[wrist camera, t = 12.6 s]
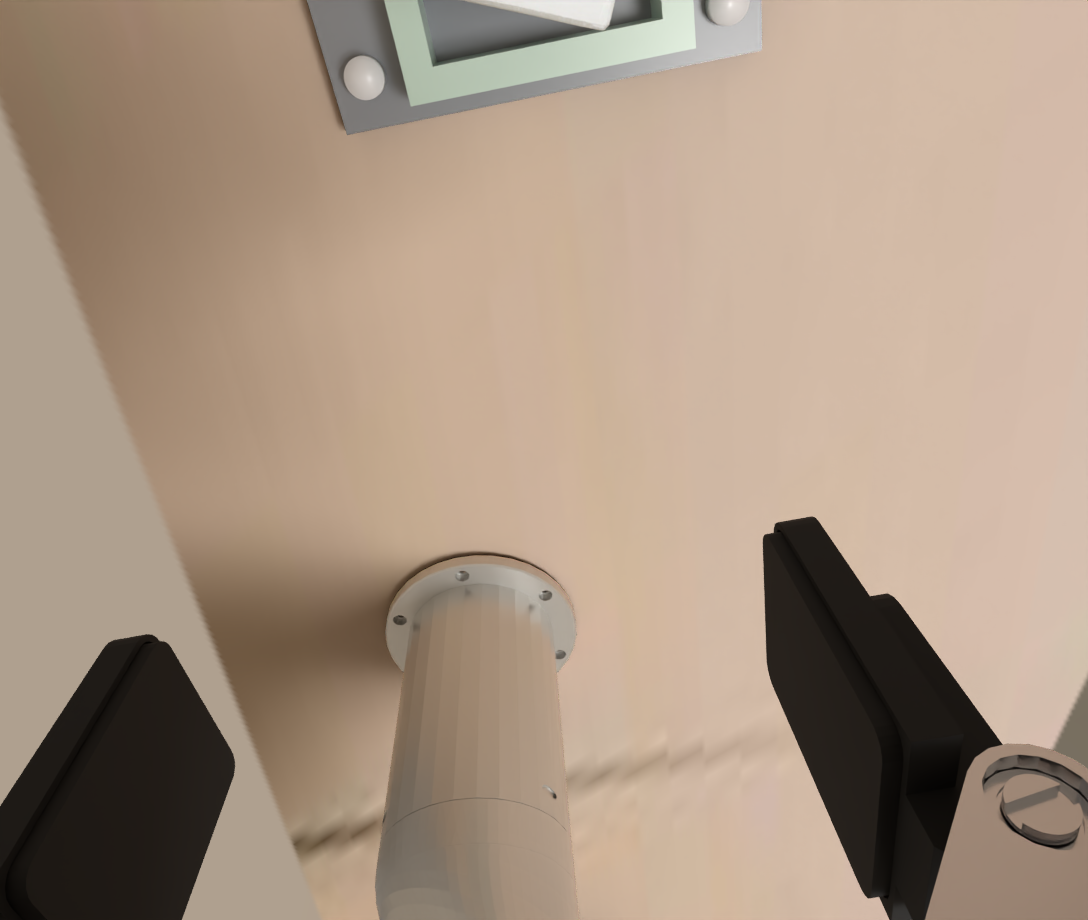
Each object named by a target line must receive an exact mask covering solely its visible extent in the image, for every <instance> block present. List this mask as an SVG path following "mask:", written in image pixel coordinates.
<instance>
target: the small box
mask: <svg viewBox="0 0 1088 920" xmlns="http://www.w3.org/2000/svg"><path fill="white" fill-rule="evenodd" d="M463 1H467V2H472V3H476V4H481V5H485V6H490V7H495V8H499V9H504V10H508V11H513V12H518V13H522V14H527V15H532V16H536V17H540V18H545V19H549V20H554V21H558V22H562V23H567V24H571V25H576V26H581V27H586V28H590V29H595V30H605V29H606V28H607V27H608V26H609V23H610V20H611V17H612V12H613V8H614V3H615V0H463Z"/></svg>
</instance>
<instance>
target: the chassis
mask: <svg viewBox="0 0 1088 920" xmlns="http://www.w3.org/2000/svg"><path fill="white" fill-rule="evenodd" d="M307 3H308V6H309V9H310V13H311V16H312V19H313V23H314V26H315V29H316V33H317V36H318V39H319V43H320V46H321V49H322V53H323V56H324V59H325V63H326V66H327V69H328V73H329V76H330V80H331V83H332V86H333V90H334V93H335V96H336V100H337V103H338V106H339V110H340V113H341V116H342V120H343V123H344V126H345V130H346V133H347V135H349V134H354V133H359V132H364V131H369V130H374V129H379V128H384V127H389V126H394V125H399V124H404V123H408V122H413V121H418V120H423V119H428V118H433V117H438V116H443V115H448V114H453V113H458V112H463V111H467V110H472V109H477V108H482V107H487V106H492V105H497V104H502V103H507V102H512V101H517V100H522V99H526V98H531V97H536V96H541V95H546V94H551V93H556V92H561V91H566V90H571V89H576V88H581V87H585V86H590V85H595V84H600V83H605V82H610V81H615V80H620V79H625V78H630V77H635V76H640V75H644V74H649V73H654V72H659V71H664V70H669V69H674V68H679V67H684V66H689V65H694V64H699V63H703V62H708V61H713V60H718V59H723V58H728V57H733V56H738V55H743V54H748V53H753V52H758V51H762V10H761V0H615V3H614V8H613V12H612V17H611V20H610V23H609V26H608V27H607V28H606V29H605V30H595V29H590V28H586V27H581V26H576V25H571V24H567V23H562V22H558V21H554V20H549V19H545V18H540V17H536V16H532V15H527V14H522V13H518V12H513V11H508V10H504V9H499V8H495V7H490V6H485V5H481V4H476V3H472V2H467V1H463V0H307Z"/></svg>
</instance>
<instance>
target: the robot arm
mask: <svg viewBox="0 0 1088 920" xmlns="http://www.w3.org/2000/svg"><path fill="white" fill-rule="evenodd" d="M763 561H764V591H765V622H766V652H767V666H768V671H769V676H770V679H771V682H772V685H773V687H774V690H775V692H776V694H777V697H778V699H779V701H780V703H781V706H782V708H783V710H784V713H785V715H786V717H787V720H788V722H789V724H790V726H791V729H792V731H793V733H794V736H795V738H796V740H797V743H798V745H799V747H800V749H801V752H802V754H803V756H804V759H805V761H806V763H807V766H808V768H809V770H810V772H811V775H812V777H813V779H814V782H815V784H816V786H817V789H818V791H819V793H820V795H821V798H822V800H823V802H824V805H825V807H826V809H827V812H828V814H829V816H830V818H831V821H832V823H833V825H834V828H835V830H836V832H837V835H838V837H839V839H840V841H841V844H842V846H843V848H844V851H845V853H846V855H847V858H848V860H849V862H850V864H851V867H852V869H853V871H854V874H855V876H856V878H857V881H858V883H859V885H860V887H861V889H862V891H863V893H864V894H865V896H866V897H867V898H874V897H880V900H881V902H882V904H883V906H884V908H885V911H886V913H887V915H888V917H889V919H890V920H1088V769H1087V768H1086V767H1084V766H1083V765H1082V764H1080V763H1079V762H1077V761H1075V760H1074V759H1072V758H1069V757H1067V756H1065V755H1062V754H1060V753H1058V752H1056V751H1054V750H1051V749H1047V748H1043V747H1038V746H1034V745H1030V744H1004V745H1003V744H1002V743H1001V742H1000V740H999V739H998V738H997V736H996V735H995V733H994V732H993V731H992V729H991V728H990V727H989V725H988V724H987V723H986V721H985V720H984V718H983V717H982V716H981V714H980V713H979V712H978V710H977V709H976V707H975V706H974V705H973V703H972V702H971V701H970V699H969V698H968V696H967V695H966V694H965V692H964V691H963V690H962V688H961V687H960V685H959V684H958V683H957V681H956V680H955V679H954V677H953V676H952V674H951V673H950V672H949V670H948V669H947V668H946V666H945V665H944V663H943V662H942V661H941V659H940V658H939V657H938V655H937V654H936V653H935V651H934V650H933V648H932V647H931V646H930V644H929V643H928V642H927V640H926V639H925V637H924V636H923V635H922V633H921V632H920V631H919V629H918V628H917V626H916V625H915V624H914V622H913V621H912V620H911V618H910V617H909V615H908V614H907V613H906V611H905V610H904V609H903V607H902V606H901V604H900V603H899V602H898V601H897V600H896V599H895V598H894V597H893V596H891V595H889V594H881V595H876V596H869V594H868V593H867V591H866V590H865V588H864V587H863V586H862V584H861V583H860V581H859V580H858V578H857V577H856V575H855V574H854V572H853V571H852V569H851V568H850V567H849V565H848V564H847V562H846V561H845V559H844V558H843V556H842V555H841V553H840V552H839V550H838V549H837V547H836V546H835V545H834V543H833V542H832V540H831V539H830V537H829V536H828V534H827V533H826V531H825V530H824V528H823V527H822V526H821V524H820V523H819V521H818V520H817V519H816V518H815V517H806V518H801V519H795V520H789V521H784V522H778V523H776V524H775V527H774V533H771V534H766V535H764V537H763ZM385 635H386V643H387V647H388V650H389V652H390V654H391V657H392V659H393V660H394V662H395V663H396V664H397V666H398V667H399V669H400V670H401V671H402V672H403V673H404V674H403V682H402V689H401V696H400V703H399V710H398V717H397V724H396V732H395V739H394V746H393V753H392V760H391V767H390V774H389V782H388V789H387V796H386V803H385V810H384V817H383V824H382V833H381V841H380V848H379V854H378V862H377V869H376V880H375V890H376V904H377V910H378V914H379V919H380V920H580V919H579V910H578V901H577V891H576V881H575V870H574V859H573V848H572V841H571V830H570V818H569V807H568V796H567V784H566V773H565V762H564V750H563V739H562V728H561V716H560V705H559V694H558V682H557V672H559V671H560V670H561V668H562V667H563V666H564V665H565V663H566V662H567V661H568V659H569V657H570V655H571V653H572V651H573V649H574V646H575V641H576V635H577V632H576V619H575V614H574V610H573V606H572V604H571V602H570V600H569V598H568V596H567V594H566V592H565V591H564V590H563V589H562V588H561V586H560V585H559V584H558V583H557V582H556V581H555V580H554V579H552V578H551V577H550V576H548V575H547V574H546V573H545V572H543V571H541V570H539V569H537V568H535V567H533V566H531V565H530V564H527V563H524V562H520V561H517V560H514V559H511V558H504V557H498V556H480V555H474V556H466V557H459V558H453V559H450V560H447V561H443V562H440V563H437V564H435V565H433V566H431V567H429V568H427V569H424V570H422V571H421V572H419V573H418V574H417V575H415V576H414V577H412V578H411V579H410V580H408V581H407V582H406V584H405V585H404V586H403V587H402V588H401V589H400V590H399V591H398V592H397V594H396V596H395V598H394V600H393V601H392V603H391V605H390V609H389V613H388V616H387V623H386V631H385ZM234 769H235V761H234V756H233V753H232V751H231V749H230V747H229V746H228V744H227V742H226V741H225V739H224V737H223V735H222V734H221V732H220V730H219V729H218V727H217V726H216V723H215V722H214V720H213V718H212V717H211V715H210V713H209V712H208V710H207V708H206V706H205V705H204V703H203V701H202V700H201V698H200V696H199V695H198V693H197V691H196V689H195V688H194V686H193V684H192V683H191V681H190V679H189V677H188V676H187V674H186V673H185V671H184V669H183V667H182V666H181V664H180V662H179V660H178V659H177V657H176V655H175V653H174V652H173V650H172V648H171V647H170V646H169V644H167V643H166V642H162V641H159V640H158V639H157V638H156V637H155V636H153V635H147V634H146V635H141V636H135V637H130V638H124V639H118V640H113V641H111V642H109V643H108V644H107V645H106V646H105V648H104V649H103V650H102V652H101V653H100V655H99V656H98V658H97V659H96V661H95V662H94V664H93V665H92V667H91V669H90V670H89V671H88V673H87V675H86V676H85V678H84V679H83V681H82V682H81V684H80V685H79V687H78V688H77V690H76V692H75V693H74V694H73V696H72V698H71V699H70V701H69V702H68V704H67V705H66V707H65V708H64V710H63V711H62V713H61V714H60V716H59V717H58V719H57V720H56V722H55V723H54V725H53V727H52V728H51V730H50V731H49V733H48V734H47V736H46V737H45V739H44V740H43V742H42V743H41V745H40V746H39V748H38V749H37V751H36V752H35V754H34V756H33V757H32V759H31V760H30V762H29V763H28V765H27V766H26V768H25V769H24V771H23V773H22V774H21V775H20V777H19V778H18V780H17V781H16V783H15V784H14V786H13V787H12V789H11V791H10V792H9V794H8V795H7V797H6V798H5V800H4V801H3V803H2V804H1V806H0V920H182V917H183V915H184V912H185V909H186V906H187V904H188V901H189V898H190V895H191V893H192V889H193V887H194V884H195V882H196V879H197V876H198V873H199V870H200V868H201V865H202V862H203V859H204V856H205V854H206V851H207V848H208V846H209V843H210V840H211V837H212V834H213V832H214V828H215V826H216V823H217V820H218V818H219V815H220V812H221V810H222V807H223V804H224V801H225V798H226V795H227V793H228V790H229V787H230V784H231V782H232V779H233V776H234Z"/></svg>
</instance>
